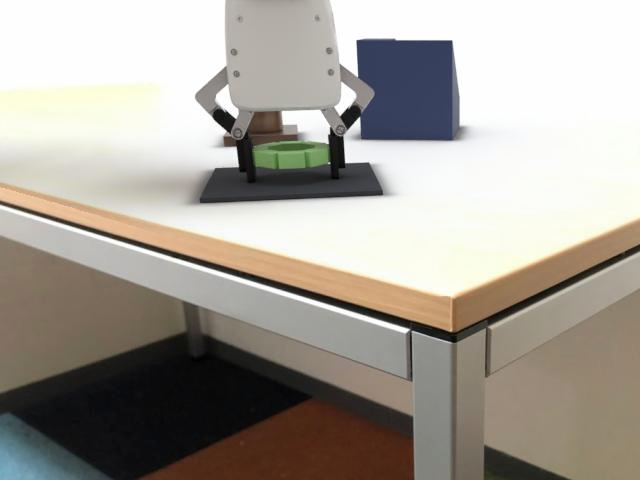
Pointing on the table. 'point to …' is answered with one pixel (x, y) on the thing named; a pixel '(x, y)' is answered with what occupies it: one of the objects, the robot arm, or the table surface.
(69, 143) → the table surface
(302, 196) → the mat
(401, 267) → the table surface
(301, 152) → the ring
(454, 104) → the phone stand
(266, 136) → the stand
